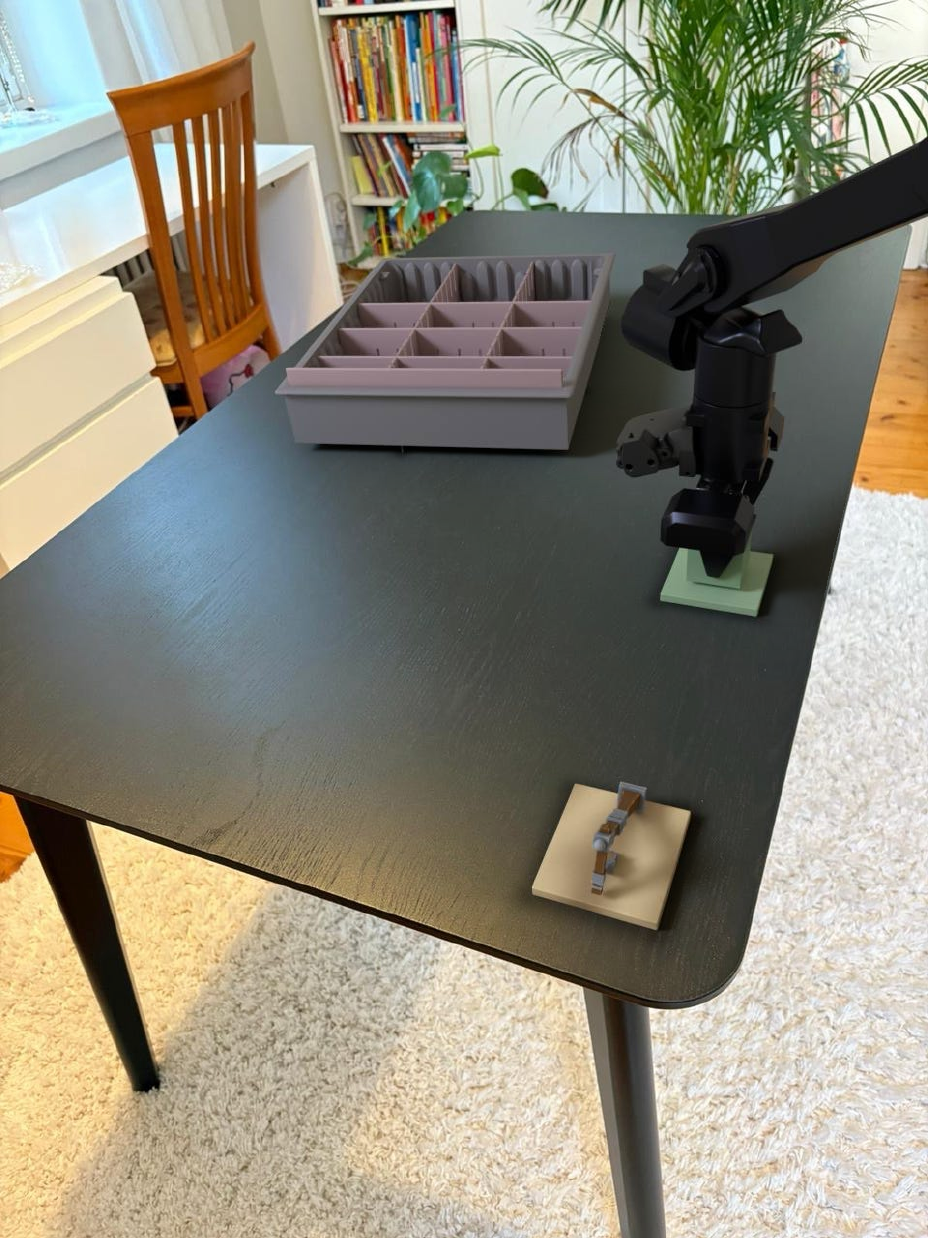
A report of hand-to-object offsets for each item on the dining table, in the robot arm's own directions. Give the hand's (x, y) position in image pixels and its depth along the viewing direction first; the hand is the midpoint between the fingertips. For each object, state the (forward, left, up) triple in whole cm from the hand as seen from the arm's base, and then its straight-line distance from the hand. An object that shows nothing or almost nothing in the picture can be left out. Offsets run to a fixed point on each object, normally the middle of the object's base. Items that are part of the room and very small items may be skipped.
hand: (719, 559), depth 83 cm
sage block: (0, 0, -1) cm, 1 cm away
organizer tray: (+37, -33, -2) cm, 50 cm away
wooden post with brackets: (0, +30, -2) cm, 30 cm away
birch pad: (+1, +31, -2) cm, 31 cm away
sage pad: (0, 0, -2) cm, 2 cm away
